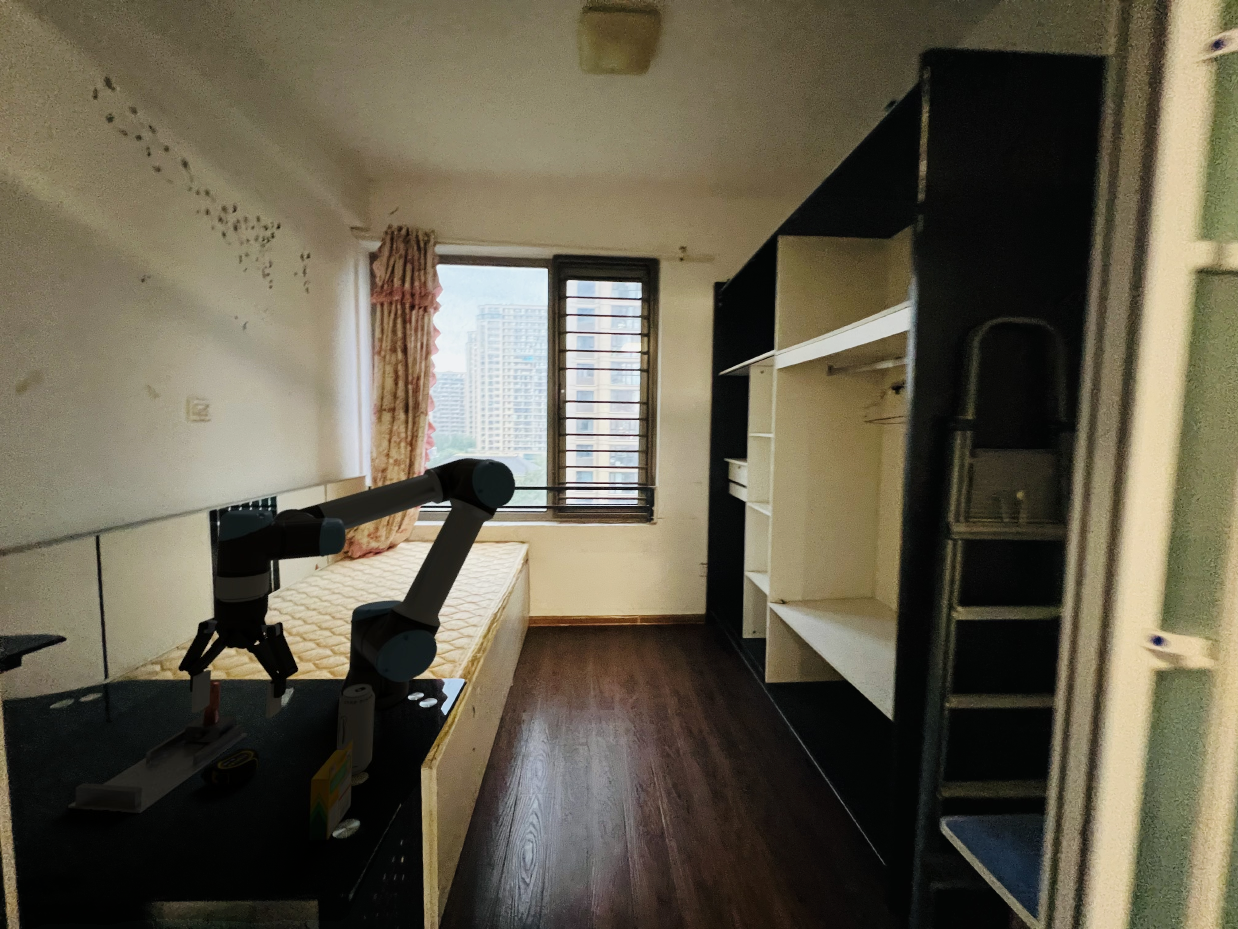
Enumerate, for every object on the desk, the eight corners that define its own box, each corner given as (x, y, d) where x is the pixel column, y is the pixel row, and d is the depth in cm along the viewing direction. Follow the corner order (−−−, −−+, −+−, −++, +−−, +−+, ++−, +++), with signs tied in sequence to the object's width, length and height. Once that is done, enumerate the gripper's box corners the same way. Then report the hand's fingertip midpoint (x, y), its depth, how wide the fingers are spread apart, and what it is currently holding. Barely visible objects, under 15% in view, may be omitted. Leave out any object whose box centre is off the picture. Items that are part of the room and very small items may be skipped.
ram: (235, 731, 96) (237, 679, 96) (213, 746, 91) (215, 692, 90) (202, 729, 96) (205, 677, 96) (178, 744, 91) (180, 689, 91)
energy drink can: (330, 767, 88) (333, 690, 87) (363, 752, 92) (366, 679, 92) (343, 782, 84) (347, 701, 84) (377, 766, 89) (381, 689, 89)
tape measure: (241, 762, 88) (241, 743, 88) (267, 770, 86) (268, 751, 86) (200, 786, 81) (200, 765, 81) (227, 795, 80) (228, 774, 80)
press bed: (247, 735, 96) (247, 719, 96) (139, 813, 75) (140, 792, 75) (191, 731, 96) (191, 715, 96) (68, 808, 75) (69, 787, 75)
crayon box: (333, 805, 79) (336, 738, 78) (351, 805, 79) (354, 738, 79) (307, 841, 71) (310, 767, 71) (327, 840, 72) (330, 767, 71)
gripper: (323, 594, 87) (318, 705, 87) (195, 585, 87) (190, 696, 87) (294, 607, 79) (288, 728, 79) (154, 597, 80) (148, 718, 80)
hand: (236, 711), depth 83 cm, fingers open, 13 cm apart
